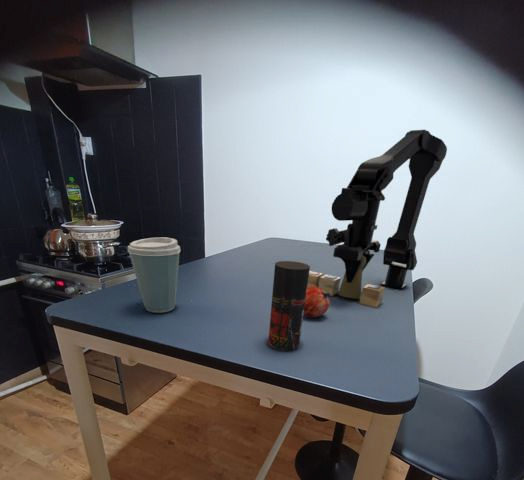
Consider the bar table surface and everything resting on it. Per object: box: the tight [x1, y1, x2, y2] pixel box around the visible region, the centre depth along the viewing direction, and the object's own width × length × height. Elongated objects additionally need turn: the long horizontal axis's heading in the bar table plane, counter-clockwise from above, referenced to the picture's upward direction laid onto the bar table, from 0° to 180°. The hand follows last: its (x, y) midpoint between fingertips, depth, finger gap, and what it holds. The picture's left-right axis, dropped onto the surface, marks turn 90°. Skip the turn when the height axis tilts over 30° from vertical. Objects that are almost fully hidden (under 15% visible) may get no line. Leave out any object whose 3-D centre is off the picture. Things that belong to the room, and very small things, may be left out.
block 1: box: [307, 270, 324, 287], centre depth 93 cm, size 4×4×5 cm
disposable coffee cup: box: [127, 236, 182, 314], centre depth 69 cm, size 11×11×15 cm
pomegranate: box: [303, 286, 333, 319], centre depth 73 cm, size 7×7×10 cm
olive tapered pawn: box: [338, 256, 366, 299], centre depth 86 cm, size 6×6×11 cm
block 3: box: [359, 283, 386, 308], centre depth 85 cm, size 4×4×5 cm
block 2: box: [318, 274, 342, 297], centre depth 91 cm, size 4×4×5 cm
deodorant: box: [267, 260, 311, 352], centre depth 57 cm, size 6×6×15 cm
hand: (351, 281), depth 87 cm, fingers closed on olive tapered pawn, 4 cm apart
